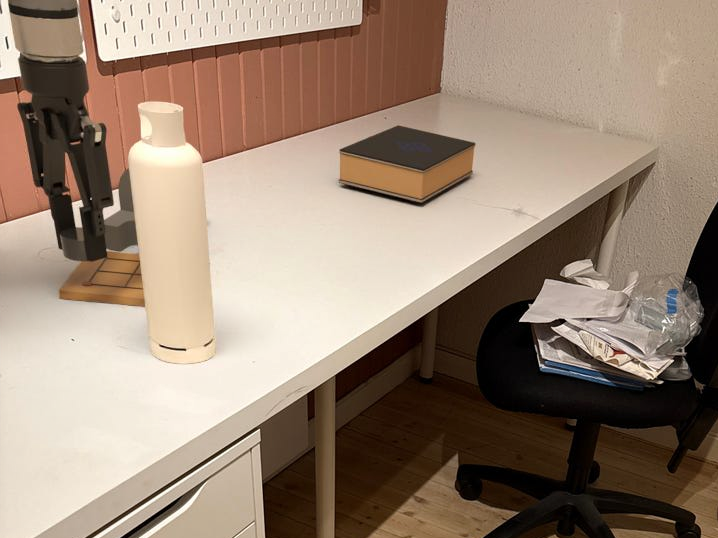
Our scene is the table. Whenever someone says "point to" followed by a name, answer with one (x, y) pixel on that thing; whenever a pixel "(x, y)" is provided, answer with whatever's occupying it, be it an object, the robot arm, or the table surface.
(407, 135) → the book
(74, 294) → the board
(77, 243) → the cylinder
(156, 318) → the bottle
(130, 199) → the bracket
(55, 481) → the table surface
